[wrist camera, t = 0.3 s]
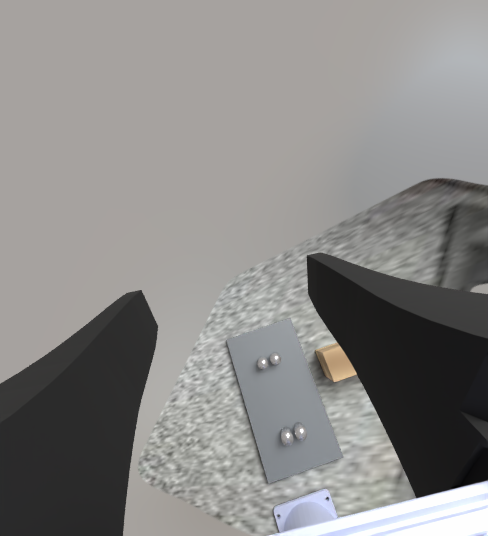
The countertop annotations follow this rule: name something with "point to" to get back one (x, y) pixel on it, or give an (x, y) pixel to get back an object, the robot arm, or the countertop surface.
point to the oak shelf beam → (335, 362)
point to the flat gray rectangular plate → (282, 401)
